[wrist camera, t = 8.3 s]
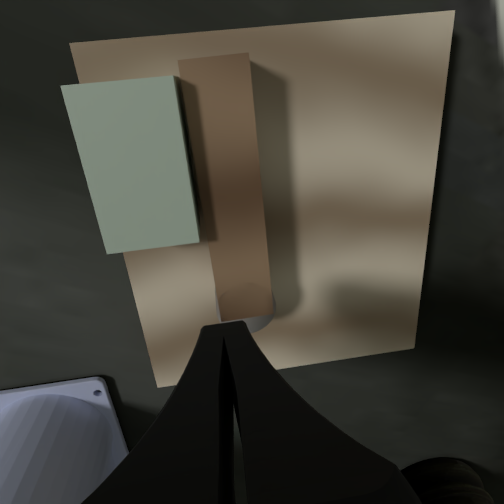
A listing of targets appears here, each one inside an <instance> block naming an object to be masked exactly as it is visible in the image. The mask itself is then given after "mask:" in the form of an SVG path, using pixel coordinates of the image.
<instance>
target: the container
mask: <svg viewBox="0 0 504 504" xmlns="http://www.w3.org/2000/svg"><path fill="white" fill-rule="evenodd" d="M401 473H402V474H403V475H404V477H405V478H406V480H407V481H408V482H409V484H410V485H411V487H412V488H413V490H414V491H415V493H416V494H417V496H418V497H419V499H420V501H421V502H422V504H494V502H493V499H492V497H491V496H490V495H489V493H488V492H486V491H485V490H484V486H483V483H482V481H481V479H480V477H479V476H478V474H477V473H476V472H475V471H474V470H473V469H472V468H471V467H470V466H468V465H467V464H465V463H464V462H462V461H459V460H455V459H449V458H438V459H430V460H426V461H422V462H419V463H416V464H414V465H411V466H409V467H407V468H405V469H404V470H402V471H401Z"/></svg>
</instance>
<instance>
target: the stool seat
mask: <svg viewBox="0 0 504 504" xmlns="http://www.w3.org/2000/svg"><path fill="white" fill-rule="evenodd" d="M454 15H455V10H453V11H441V12H430V13H418V14H406V15H395V16H383V17H371V18H359V19H348V20H336V21H324V22H312V23H301V24H289V25H277V26H265V27H254V28H242V29H230V30H219V31H207V32H195V33H183V34H172V35H160V36H148V37H136V38H125V39H113V40H101V41H89V42H78V43H69V44H70V47H71V51H72V55H73V59H74V63H75V67H76V71H77V75H78V79H79V83H80V84H85V83H96V82H107V81H117V80H128V79H139V78H149V77H160V76H171V75H174V76H177V77H179V82H180V89H181V96H182V102H183V109H184V115H185V122H186V128H187V135H188V141H189V148H190V154H191V161H192V167H193V174H194V180H195V187H196V193H197V200H198V206H199V213H200V242H199V243H191V244H183V245H175V246H167V247H159V248H151V249H144V250H136V251H128V252H123V254H124V258H125V262H126V266H127V270H128V274H129V278H130V282H131V286H132V290H133V293H134V297H135V301H136V305H137V309H138V313H139V317H140V321H141V325H142V329H143V332H144V336H145V340H146V344H147V348H148V352H149V356H150V360H151V364H152V368H153V371H154V375H155V379H156V383H157V387H158V388H159V387H166V386H172V385H177V383H178V381H179V379H180V378H181V376H182V374H183V372H184V370H185V368H186V366H187V364H188V361H189V359H190V357H191V355H192V353H193V350H194V348H195V345H196V343H197V340H198V337H199V334H200V330H201V328H202V327H203V326H205V325H212V324H219V323H220V321H219V320H218V317H217V313H216V297H215V282H214V276H213V270H212V264H211V258H210V252H209V246H208V240H207V234H206V228H205V222H204V216H203V210H202V204H201V198H200V192H199V186H198V180H197V174H196V168H195V162H194V156H193V150H192V144H191V139H190V133H189V127H188V121H187V115H186V109H185V103H184V97H183V91H182V85H181V79H180V73H179V67H178V61H177V60H183V59H192V58H201V57H210V56H220V55H229V54H238V53H247V52H249V58H250V69H251V80H252V90H253V101H254V111H255V122H256V132H257V143H258V153H259V164H260V175H261V185H262V196H263V206H264V217H265V227H266V238H267V248H268V259H269V269H270V280H271V289H272V292H273V295H274V298H275V301H276V312H275V315H274V317H273V319H272V320H271V322H270V323H269V324H268V325H267V326H266V327H264V328H263V329H261V330H259V331H257V332H254V333H251V335H252V337H253V339H254V340H255V342H256V343H257V345H258V347H259V348H260V350H261V351H262V352H263V354H264V355H265V356H266V358H267V359H268V361H269V362H270V363H271V364H272V366H273V367H274V368H275V369H283V368H289V367H296V366H302V365H309V364H315V363H322V362H328V361H335V360H341V359H348V358H354V357H361V356H367V355H374V354H380V353H387V352H393V351H400V350H406V349H413V348H414V346H415V337H416V329H417V321H418V313H419V304H420V296H421V288H422V280H423V271H424V263H425V255H426V247H427V238H428V230H429V222H430V213H431V205H432V197H433V189H434V180H435V172H436V164H437V156H438V147H439V139H440V131H441V123H442V114H443V106H444V98H445V90H446V81H447V73H448V65H449V57H450V48H451V40H452V32H453V23H454Z"/></svg>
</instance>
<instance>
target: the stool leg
mask: <svg viewBox="0 0 504 504" xmlns="http://www.w3.org/2000/svg"><path fill="white" fill-rule="evenodd" d="M177 61H178V67H179V73H180V79H181V85H182V91H183V97H184V103H185V109H186V115H187V121H188V127H189V133H190V139H191V144H192V150H193V156H194V162H195V168H196V174H197V180H198V186H199V192H200V198H201V204H202V210H203V216H204V222H205V228H206V234H207V240H208V246H209V252H210V258H211V264H212V270H213V276H214V282H215V297H216V313H217V317H218V320H219V321H220V323H226V322H233V321H240V320H243V321H244V322H245V323H246V324H247V327H248V329H249V331H250V333H254V332H257V331H259V330H261V329H263V328H264V327H266V326H267V325H268V324H269V323H270V322H271V320H272V319H273V317H274V315H275V312H276V301H275V298H274V295H273V292H272V289H271V280H270V269H269V259H268V248H267V238H266V227H265V217H264V206H263V196H262V185H261V175H260V164H259V153H258V143H257V132H256V122H255V111H254V101H253V90H252V80H251V69H250V58H249V52H247V53H238V54H229V55H220V56H210V57H201V58H192V59H183V60H177Z"/></svg>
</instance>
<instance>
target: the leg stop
mask: <svg viewBox="0 0 504 504" xmlns="http://www.w3.org/2000/svg"><path fill="white" fill-rule="evenodd" d="M61 90H62V93H63V97H64V101H65V104H66V108H67V111H68V115H69V119H70V122H71V126H72V129H73V133H74V137H75V140H76V144H77V147H78V151H79V155H80V158H81V162H82V166H83V169H84V173H85V176H86V180H87V184H88V187H89V191H90V194H91V198H92V202H93V205H94V209H95V213H96V216H97V220H98V223H99V227H100V231H101V234H102V238H103V241H104V245H105V249H106V252H107V254H112V253H120V252H128V251H136V250H144V249H151V248H159V247H167V246H175V245H183V244H191V243H199V242H200V213H199V206H198V200H197V193H196V187H195V180H194V174H193V167H192V161H191V154H190V148H189V141H188V135H187V128H186V122H185V115H184V109H183V102H182V96H181V89H180V82H179V77H177V76H174V75H171V76H160V77H149V78H139V79H128V80H117V81H107V82H96V83H85V84H74V85H64V86H61Z"/></svg>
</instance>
